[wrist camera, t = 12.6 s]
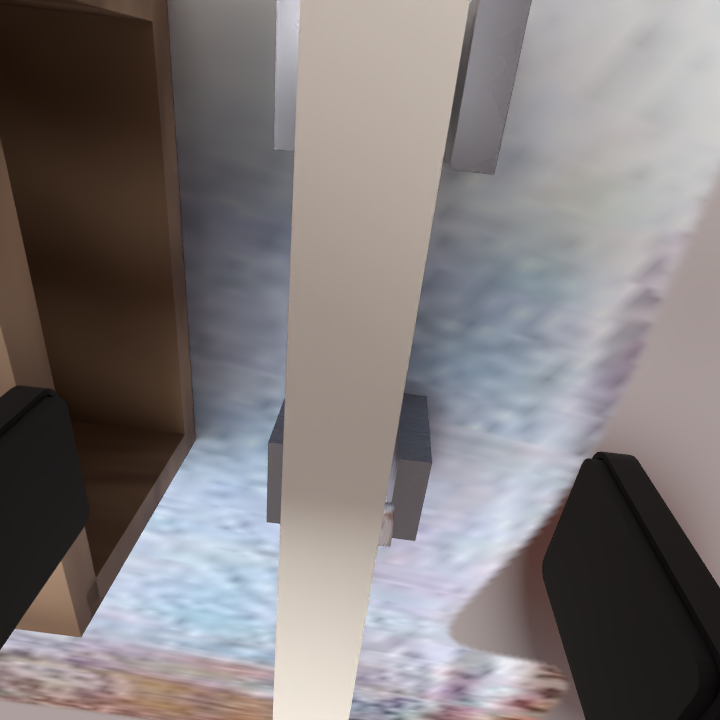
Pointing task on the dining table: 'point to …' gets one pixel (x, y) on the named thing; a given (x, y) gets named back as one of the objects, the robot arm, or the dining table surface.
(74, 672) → the dining table surface
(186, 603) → the dining table surface
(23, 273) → the cabinet body
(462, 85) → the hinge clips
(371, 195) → the cabinet door
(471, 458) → the dining table surface
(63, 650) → the dining table surface
